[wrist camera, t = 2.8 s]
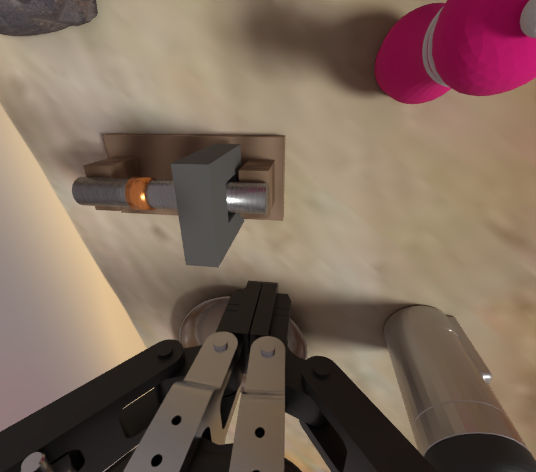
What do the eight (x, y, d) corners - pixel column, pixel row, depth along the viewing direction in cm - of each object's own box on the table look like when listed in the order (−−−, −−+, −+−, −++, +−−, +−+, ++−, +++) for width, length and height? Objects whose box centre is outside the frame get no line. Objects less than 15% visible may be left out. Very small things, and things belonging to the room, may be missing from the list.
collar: (240, 144, 31) (208, 164, 21) (244, 221, 34) (218, 267, 25) (213, 143, 31) (170, 163, 22) (220, 220, 35) (186, 264, 26)
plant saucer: (257, 262, 41) (253, 275, 38) (331, 354, 47) (332, 372, 44) (162, 316, 49) (153, 330, 46) (236, 389, 55) (232, 406, 52)
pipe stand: (285, 135, 33) (278, 144, 27) (283, 216, 37) (277, 240, 31) (110, 133, 36) (67, 141, 29) (128, 208, 40) (94, 229, 34)
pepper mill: (356, 53, 28) (428, -21, 11) (429, -2, 26) (684, -217, 8) (388, 117, 31) (492, 145, 13) (458, 73, 28) (712, 31, 10)
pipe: (269, 177, 29) (264, 186, 26) (269, 208, 30) (264, 221, 27) (90, 171, 31) (66, 179, 28) (98, 201, 33) (76, 211, 30)
